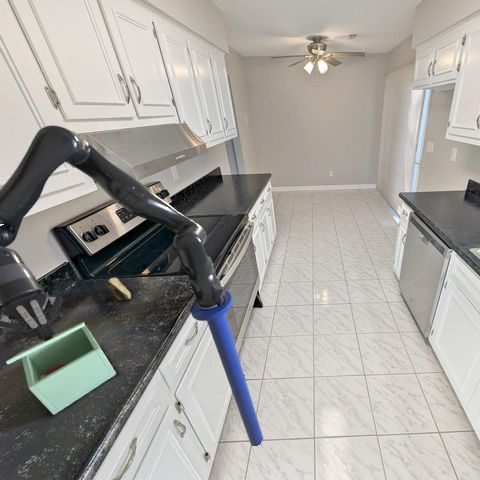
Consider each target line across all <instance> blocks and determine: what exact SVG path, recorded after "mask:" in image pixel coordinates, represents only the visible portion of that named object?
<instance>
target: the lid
mask: <svg viewBox="0 0 480 480" xmlns="http://www.w3.org/2000/svg"><path fill="white" fill-rule="evenodd" d="M85 325H86V324H85V322H84V321H81V322H79V323H77V324H76V325H73V326H71V327H69V328H68V329H67V328H66V329H65V330H63V331H61V332H59V333H57V334H54V335H53V338H51V339H49V340H47V341H45V340H42V341H41V342H39V343H36V344H35V345H33V346H31V347H29V348H26V349H25V350H23V351H20V352H18V353H17V354H15V355H14V356H13V357H11V358H9V359H8V360H6V361H5V363H6V365H10V364H12V363H15V362H17V361H18V360H20V359H22V357H24V356H26V355H28V354H30V353H32V352H34V351H36V350H38V349H40V348H42V347H44V346H46V345H48V344H50V343H52V342H54V341H56V340H58V339H60V338H62V337H64V336H66V335H68V334H70V333H72V332H74V331H76V330H78V329H80V328H82V327H84V326H85Z"/></svg>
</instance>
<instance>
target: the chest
mask: <svg viewBox="0 0 480 480" xmlns="http://www.w3.org/2000/svg"><path fill="white" fill-rule="evenodd" d="M21 362H22V365H23V370H24V374H25V379H26V383H27V387H28V390H29V391H30V393H32V394H33V395H34V396H35V397H36V398H37V399H38V400H39V401H40V402H41V404H42V405H44V407H46V409H47V410H48V411H49V412H50V413H51V414H52V415H53V416H54V415H56V414H58V413H59V412H61V411H62V410H64V409H65V408H67V407H68V406H70V405H71V404H73V403H75V402H76V401H77V400H79V399H80V398H82V397H84V396H85V395H86V394H88V393H90V392H92V391H93V390H94V389H96V388H97V387H99V386H101V385H102V384H104V383H105V382H106V381H108V380H110V379H111V378H114V377H115V376H116V375H117V372H116V370H115V369H114V368H113V365H112V364H111V363H110V361H109V359H108V358H107V356H106V355H105V353H104V351H103V350H102V348H101V347H100V345H99V344H98V342H97V340H96V339H95V337H94V336H93V334H92V332H91V331H90V330H89V328H88V327H87V325H86V324H85V326H84V327H82V328H80V329H78V330H76V331H74V332H72V333H70V334H68V335H66V336H64V337H62V338H60V339H58V340H56V341H54V342H52V343H50V344H48V345H46V346H44V347H42V348H40V349H38V350H36V351H34V352H32V353H30V354H28V355H26V356H24V357H22V358H21ZM60 364H67V365H65V366H64V367H62V368H60V369H58V370H57V371H55V372H53V373H51V374H50V375H48V376H46V377H44V378H42V379H41V380H40V378H41V376H43V375H44V374H45V373H46V372H47V371H48V370H49V369H51V368H53V367H55V366H57V365H60Z"/></svg>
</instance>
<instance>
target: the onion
mask: <svg viewBox="0 0 480 480" xmlns="http://www.w3.org/2000/svg"><path fill="white" fill-rule="evenodd" d="M65 365H67V364H60V365H57V366H55V367H53V368H51V369H49V370H48V371H47V372H46V373H45V374H44V375H43V376H41V378H40V380H41V379H42V378H44V377H46V376H48V375H50V374H51V373H53V372H55V371H57V370H58V369H60V368H62V367H64V366H65Z"/></svg>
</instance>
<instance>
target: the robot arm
mask: <svg viewBox="0 0 480 480" xmlns="http://www.w3.org/2000/svg"><path fill="white" fill-rule="evenodd" d="M65 163H66V164H68V165H70V166H71V167H74V168H75V169H77V170H78V171H80V172H82V173H83V174H84V175H86V176H88V177H89V178H91V179H92V180H93V182H95V183H96V184H97V185H98V186H99V187H100V188H101V189H102V190H103V191H104V192H105V194H107V195H108V196H109V198H111V199H112V200H113V201H114V202H116V203H117V204H118V205H120V206H121V207H122V208H124V209H125V210H127V211H128V212H130V213H131V214H133V215H135V216H137V217H139V218H142V219H145V220H148V221H151V222H154V223H157V224H160V225H161V226H163V227H166V228H167V229H169V230H170V232H172V233H174V234H175V236H174V238H173V248H174V250H175V253H176V255H177V258H178V260H179V262H180V264H181V266H182V267H183V268H184V269H185V271H186V274H187V278H188V281H189V284H190V285H191V288H192V291H193V294H194V296H195V299H197V302H198V306H199V308H200V309H202V310H211V309H214V308H216V307H218V306H221V304H223V305H224V304H225V303H226V301H227V298H226V297H225V291H226V290H225V288H223V287H222V284H221V280H220V278H219V277H217V275H216V271H215V268H214V264H213V261H212V258H211V256H209V255H207V253H206V250H205V247H204V245H205V243H206V241H207V237H208V235H207V231H206V230H205V229H204V228H203V227H202V226H201V225H199V224H198V223H197V222H195V221H194V220H192V219H190V218H189V217H187V216H185V215H184V214H182V213H181V212H179V211H177V209H175V208H174V207H173V206H171V205H170V204H169V203H168V202H166V201H165V200H164V199H162V198H161V197H160V196H158V195H157V194H156V193H154V192H153V191H152V190H151V189H150V188H149V187H147V186H146V185H145V184H143V183H142V182H141V181H139V180H137V179H136V178H135V177H134V176H133V175H130V174H129V173H128V172H126V171H125V170H123V169H122V168H120V167H118V166H116V165H115V164H113V162H111V161H110V160H108V159H107V158H106V157H105V156H104V155H103V154H101V153H100V151H98V150H97V149H96V148H95V147H94V146H93V145H91V143H89V142H88V141H87V140H86V139H85V138H84V137H83V136H81V134H79V133H77V132H75V131H74V130H71V129H68V128H66V127H64V126H60V125H55V124H54V125H52V124H51V125H46V126H43V127H41V128H40V129H38V131H37V132H36V133H35V135H34V137H33V138H32V140H31V142H30V145H29V146H28V148H27V150H26V152H25V154H24V156H23V157H22V159H21V160H20V162H19V163H18V165H17V167H16V168H15V170H14V171H13V173H12V174H11V175H10V177H9V178H8V179H7V180H6V181H5V183H4V184H3V185H2V187H0V224H4V225H2V226H0V304H1V307H2V309H3V311H2V314H3V315H2V317H1V319H0V329H3V330H4V329H5V330H9V331H15V332H18V333H19V332H20V333H29V332H34V334H35V336H36V337H37V339H38V340H40V341H47V340H49V339H51V338H53V336H55V330H54V329H53V328H52V326H51V322H53V321H55V320H56V319H57V318H58V316H59V313H60V311H61V309H62V305H63V303H64V298H63V297H62V296H61V295H57V296H50V295H49V294H47V293H45V292H44V290H43V288H42V287H41V285H40V283H39V282H38V280H37V277H36V276H35V275H34V274H33V272H32V271H31V269H30V268H29V267H28V266H27V265H26V264H25V262H24V260H23V259H22V257H21V256H20V254H19V253H18V252H17V251H16V250H15V249H13V248H9V246H10V245H12V244H13V243H14V242H15V240H16V239H17V237H18V233H19V230H20V227H21V225H22V222H23V219H24V218H25V217H26V215H27V214H28V213H29V212H30V211H31V210H32V208H33V207H34V206H35V205H36V203H38V201H39V199H40V198H41V195H42V193H43V191H44V188H45V186H46V184H47V181H48V180H49V179H50V177H51V176H52V175H53V173H54V172H55V171H56V170H58V169H59V168H60V167H61V166H62V165H63V164H65ZM224 290H225V291H224ZM223 299H225V300H224V302H223V303H222V301H223ZM49 304H50V305H51V308H50V310H49V313H48V315H46V313H45V312H46V311H47V309H48V307H49ZM35 317H36V318H37V320H38V322H39V323H38V322H37V320H36V319H35ZM12 319H15V320H18V321H25V322H26V324H28V325H23V324H18V323H13V322H14V321H13V320H12Z"/></svg>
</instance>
